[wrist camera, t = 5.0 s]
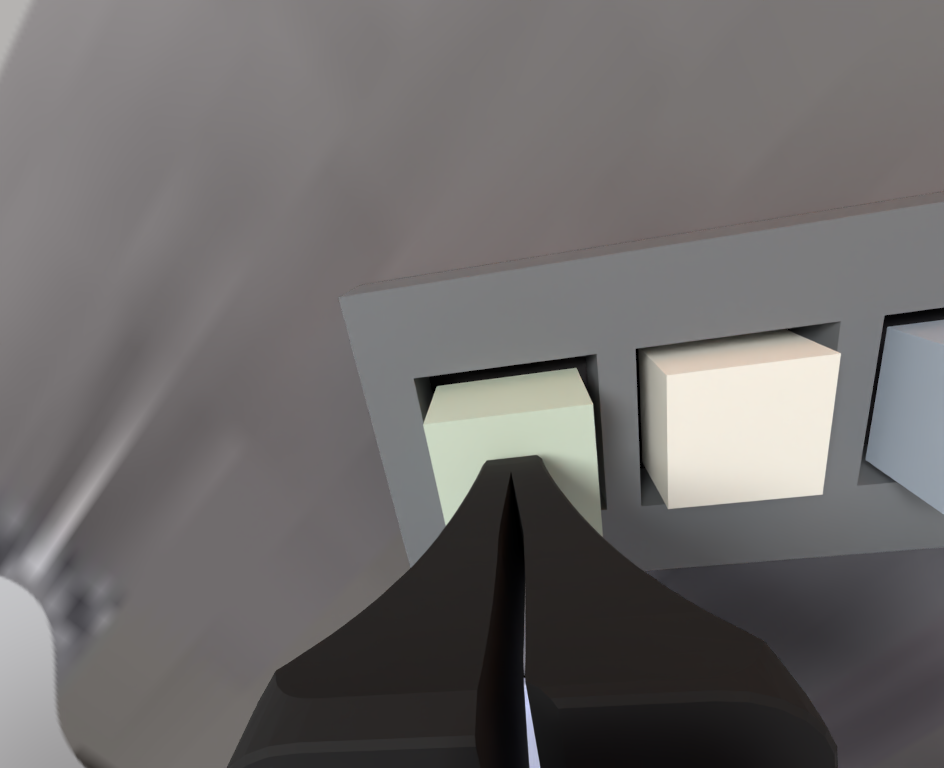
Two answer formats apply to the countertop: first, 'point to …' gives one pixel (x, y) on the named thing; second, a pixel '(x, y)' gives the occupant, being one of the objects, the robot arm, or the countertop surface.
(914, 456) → the slate key
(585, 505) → the sage key
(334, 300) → the countertop surface
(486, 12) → the countertop surface
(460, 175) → the countertop surface
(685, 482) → the cream key
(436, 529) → the grey slotted tray
